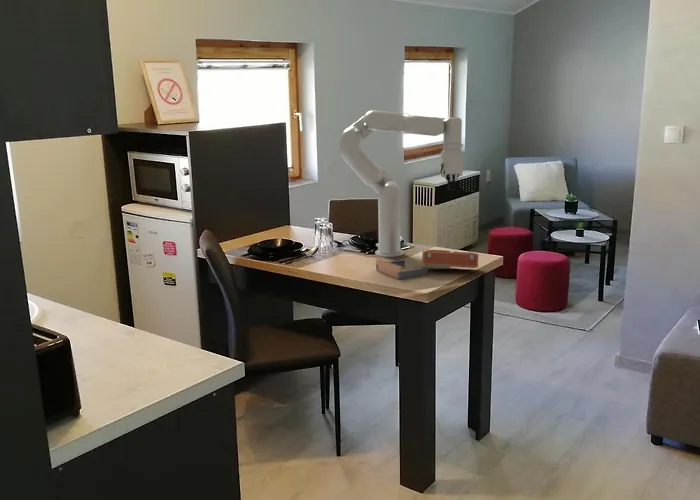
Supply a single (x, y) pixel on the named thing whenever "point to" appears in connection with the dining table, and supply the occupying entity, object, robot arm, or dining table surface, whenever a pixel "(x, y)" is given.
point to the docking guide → (398, 269)
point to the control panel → (449, 259)
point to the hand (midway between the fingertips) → (451, 190)
